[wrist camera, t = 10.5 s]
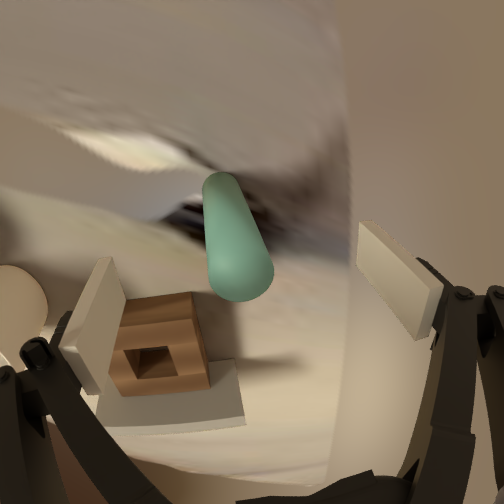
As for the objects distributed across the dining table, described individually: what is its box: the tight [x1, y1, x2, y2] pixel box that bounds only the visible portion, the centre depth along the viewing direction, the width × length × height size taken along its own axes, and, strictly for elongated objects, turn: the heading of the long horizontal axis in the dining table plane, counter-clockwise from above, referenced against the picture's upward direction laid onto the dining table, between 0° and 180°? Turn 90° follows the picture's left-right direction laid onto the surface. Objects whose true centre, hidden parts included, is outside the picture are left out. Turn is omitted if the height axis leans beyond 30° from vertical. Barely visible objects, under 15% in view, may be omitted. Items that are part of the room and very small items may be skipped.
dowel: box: [202, 172, 274, 302], centre depth 20 cm, size 3×3×13 cm
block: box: [108, 292, 211, 397], centre depth 30 cm, size 10×10×4 cm
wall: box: [95, 359, 246, 436], centre depth 32 cm, size 2×16×8 cm, turn 94°
